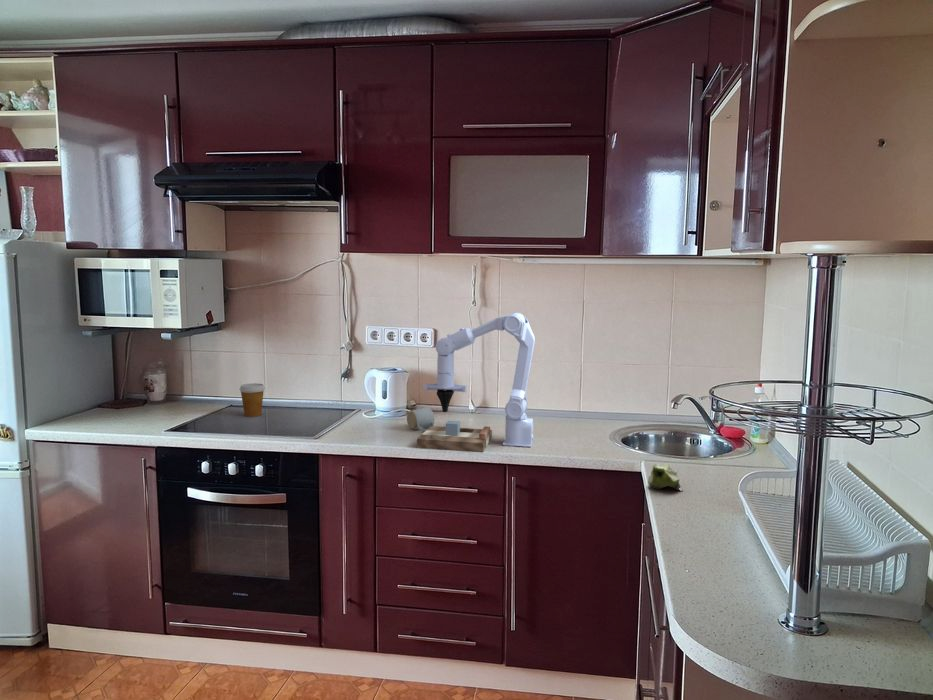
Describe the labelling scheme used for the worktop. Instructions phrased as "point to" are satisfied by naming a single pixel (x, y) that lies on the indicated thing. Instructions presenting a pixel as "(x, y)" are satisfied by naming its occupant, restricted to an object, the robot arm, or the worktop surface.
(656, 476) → the fruit
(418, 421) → the ceramic mug
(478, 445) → the trap board
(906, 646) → the worktop surface
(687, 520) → the worktop surface
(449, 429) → the block
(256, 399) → the disposable coffee cup
